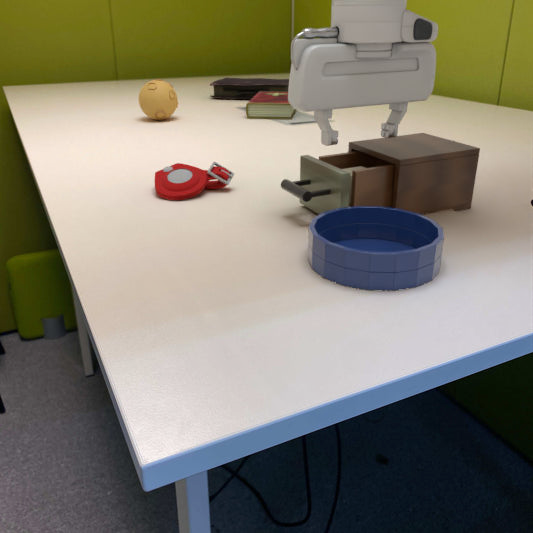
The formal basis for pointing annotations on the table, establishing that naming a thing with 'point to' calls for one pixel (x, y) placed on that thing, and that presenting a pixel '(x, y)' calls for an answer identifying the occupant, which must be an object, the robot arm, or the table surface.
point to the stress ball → (158, 99)
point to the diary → (247, 87)
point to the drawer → (343, 181)
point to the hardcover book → (270, 106)
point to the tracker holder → (189, 180)
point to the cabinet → (426, 171)
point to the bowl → (375, 247)
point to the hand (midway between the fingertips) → (359, 140)
